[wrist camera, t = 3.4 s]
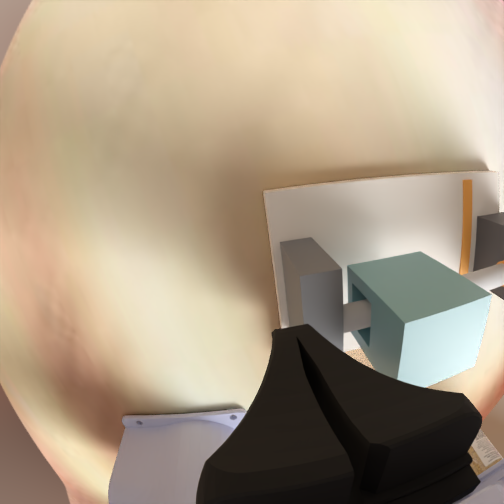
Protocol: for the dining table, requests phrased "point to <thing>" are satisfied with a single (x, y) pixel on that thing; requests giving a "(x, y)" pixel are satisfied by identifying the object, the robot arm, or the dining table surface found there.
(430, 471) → the robot arm
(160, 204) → the dining table surface
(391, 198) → the sliding block rail
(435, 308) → the sleeve
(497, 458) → the sprinkles bottle
